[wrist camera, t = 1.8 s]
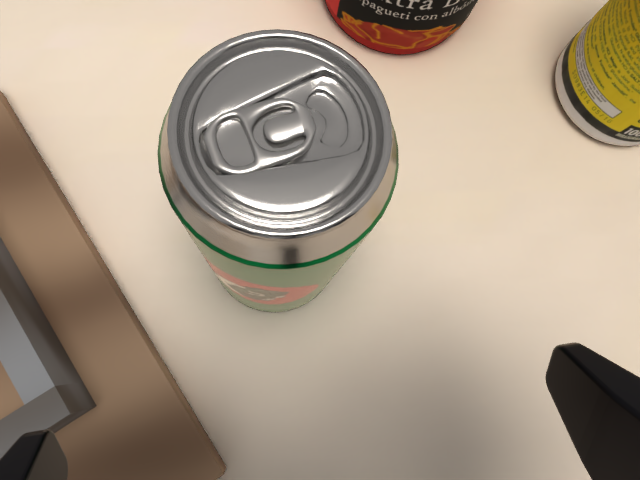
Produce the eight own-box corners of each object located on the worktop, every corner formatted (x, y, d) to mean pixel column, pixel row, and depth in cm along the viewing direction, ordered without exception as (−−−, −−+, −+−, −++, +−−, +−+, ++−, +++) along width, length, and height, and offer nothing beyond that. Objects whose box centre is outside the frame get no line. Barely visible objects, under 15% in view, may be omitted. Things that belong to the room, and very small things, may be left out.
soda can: (352, 287, 21) (455, 205, 10) (237, 332, 20) (197, 300, 9) (309, 179, 22) (353, -17, 10) (196, 218, 21) (110, 51, 10)
